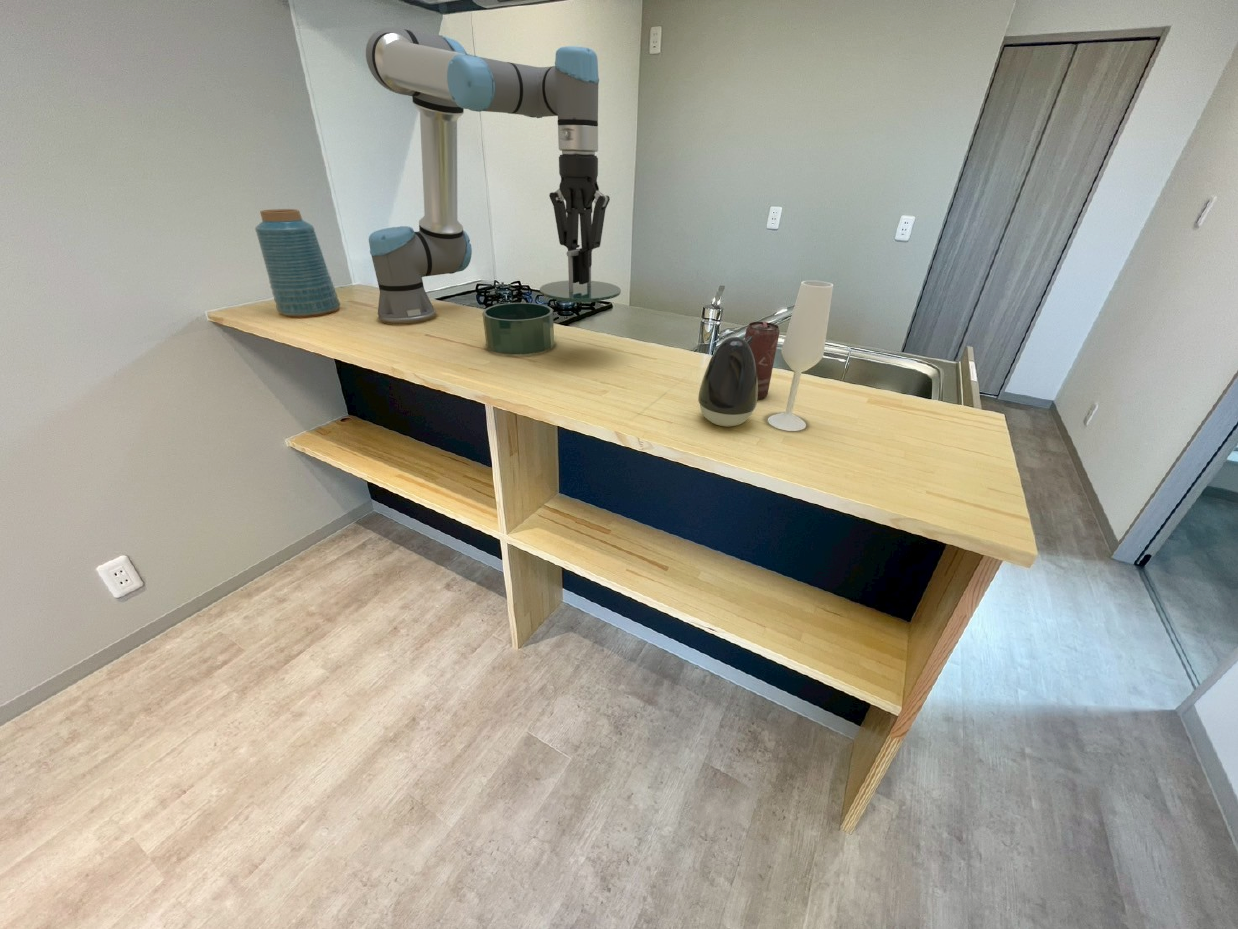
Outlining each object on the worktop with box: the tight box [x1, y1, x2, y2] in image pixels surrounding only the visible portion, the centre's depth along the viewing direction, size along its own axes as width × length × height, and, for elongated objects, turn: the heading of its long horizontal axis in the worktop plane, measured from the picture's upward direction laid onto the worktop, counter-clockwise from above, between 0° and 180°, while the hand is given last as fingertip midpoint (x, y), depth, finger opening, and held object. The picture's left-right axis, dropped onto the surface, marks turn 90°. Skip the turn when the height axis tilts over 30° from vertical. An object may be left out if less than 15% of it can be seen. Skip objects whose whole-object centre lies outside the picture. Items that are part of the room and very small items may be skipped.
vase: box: [254, 208, 341, 319], centre depth 139 cm, size 16×16×27 cm
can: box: [744, 320, 780, 401], centre depth 96 cm, size 6×6×14 cm
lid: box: [539, 248, 622, 303], centre depth 105 cm, size 18×18×9 cm
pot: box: [481, 302, 555, 356], centre depth 120 cm, size 17×17×8 cm
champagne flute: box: [767, 280, 834, 432], centre depth 82 cm, size 7×7×24 cm
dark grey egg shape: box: [697, 336, 758, 428], centre depth 85 cm, size 10×10×15 cm
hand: (580, 282), depth 106 cm, fingers closed on lid
